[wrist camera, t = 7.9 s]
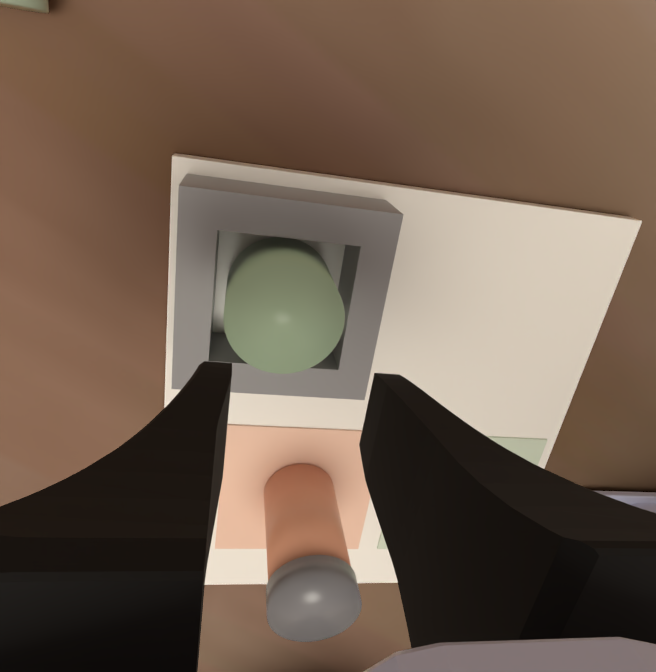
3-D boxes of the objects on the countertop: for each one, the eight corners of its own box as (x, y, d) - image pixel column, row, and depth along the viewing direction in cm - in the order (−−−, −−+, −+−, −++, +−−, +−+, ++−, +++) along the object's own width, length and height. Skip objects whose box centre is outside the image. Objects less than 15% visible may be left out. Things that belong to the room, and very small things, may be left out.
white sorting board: (493, 569, 30) (519, 621, 27) (161, 571, 26) (151, 630, 23) (629, 216, 22) (687, 236, 19) (174, 153, 18) (161, 165, 15)
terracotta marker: (348, 495, 25) (378, 613, 19) (287, 529, 25) (300, 653, 20) (310, 449, 23) (331, 564, 18) (246, 487, 24) (247, 609, 18)
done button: (323, 339, 20) (334, 377, 18) (222, 331, 20) (219, 369, 17) (338, 243, 19) (354, 269, 16) (230, 230, 18) (228, 255, 15)
